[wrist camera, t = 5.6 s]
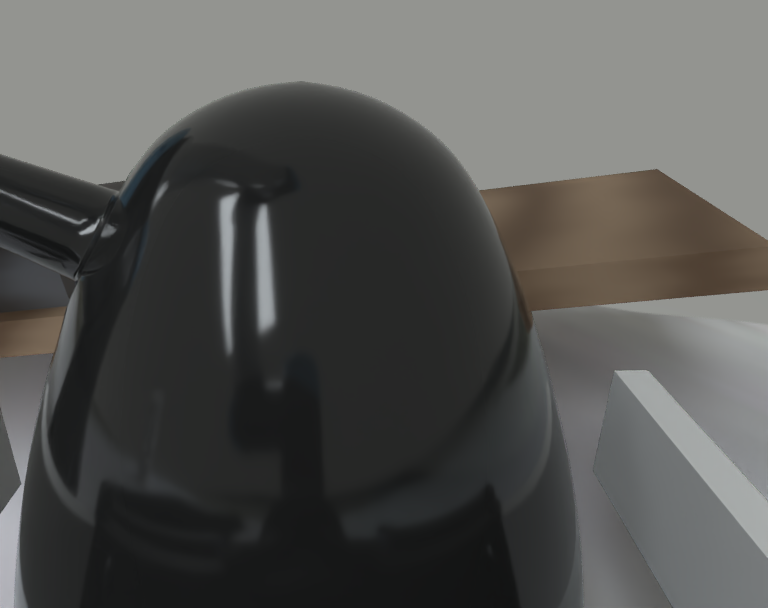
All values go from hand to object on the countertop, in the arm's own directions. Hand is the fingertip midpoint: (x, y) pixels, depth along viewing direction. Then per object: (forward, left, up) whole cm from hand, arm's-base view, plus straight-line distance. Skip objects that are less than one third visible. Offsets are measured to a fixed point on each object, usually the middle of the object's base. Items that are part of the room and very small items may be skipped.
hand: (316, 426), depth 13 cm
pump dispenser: (0, -3, -8) cm, 9 cm away
